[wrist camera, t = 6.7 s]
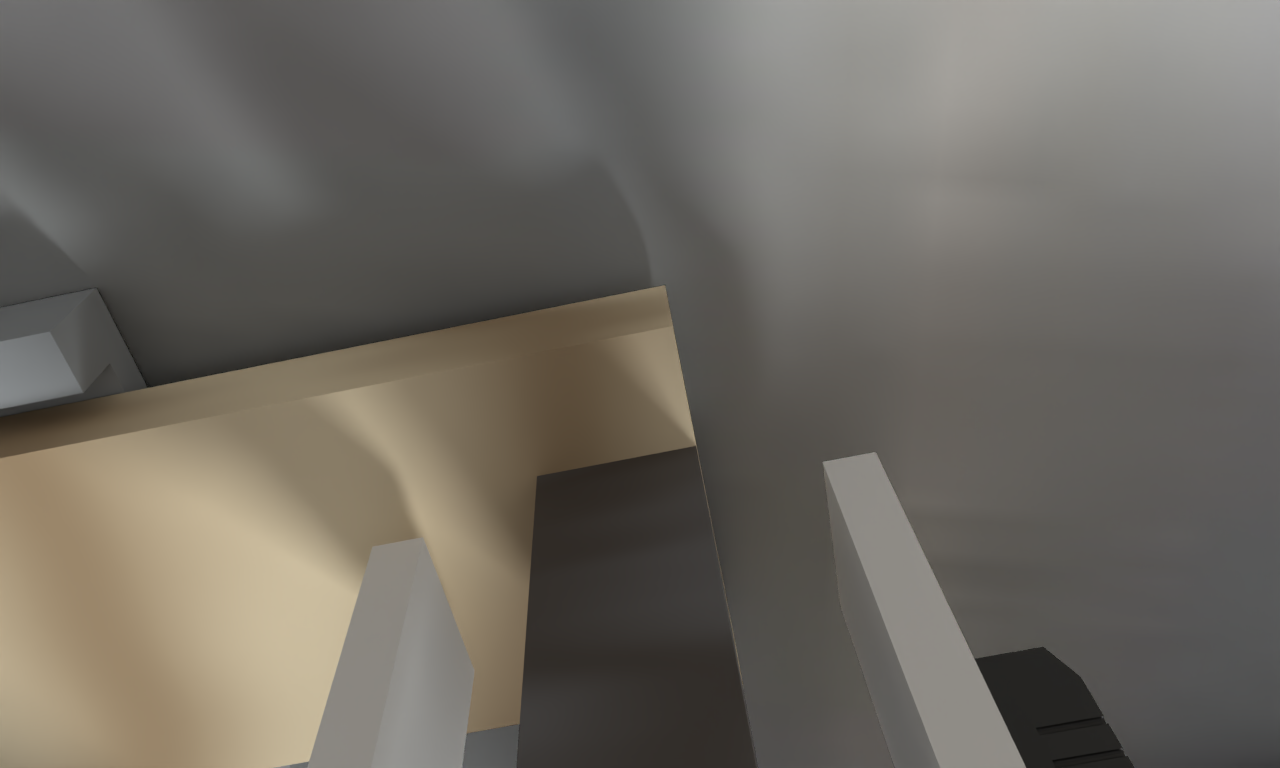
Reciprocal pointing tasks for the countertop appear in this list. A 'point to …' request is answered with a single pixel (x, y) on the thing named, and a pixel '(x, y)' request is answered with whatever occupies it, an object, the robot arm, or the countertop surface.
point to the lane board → (64, 357)
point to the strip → (343, 539)
